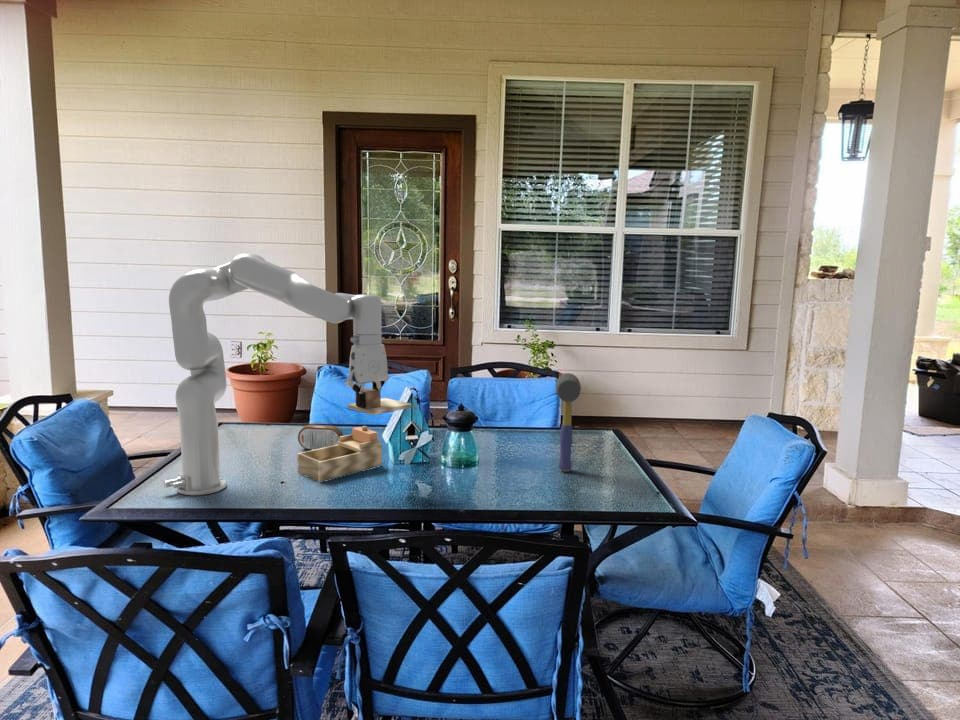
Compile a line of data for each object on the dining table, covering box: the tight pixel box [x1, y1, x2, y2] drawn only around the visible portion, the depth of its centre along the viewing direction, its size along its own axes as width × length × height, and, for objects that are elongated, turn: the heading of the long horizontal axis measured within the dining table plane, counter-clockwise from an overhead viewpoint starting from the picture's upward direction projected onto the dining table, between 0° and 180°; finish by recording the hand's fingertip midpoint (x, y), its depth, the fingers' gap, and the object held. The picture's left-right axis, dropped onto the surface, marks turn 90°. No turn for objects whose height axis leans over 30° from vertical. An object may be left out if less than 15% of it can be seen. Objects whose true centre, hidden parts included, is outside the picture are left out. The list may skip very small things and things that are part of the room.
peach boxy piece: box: [351, 425, 379, 443], centre depth 204 cm, size 3×9×5 cm, turn 46°
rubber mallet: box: [555, 372, 582, 472], centre depth 200 cm, size 12×8×30 cm, turn 173°
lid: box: [346, 387, 412, 416], centre depth 183 cm, size 14×12×6 cm
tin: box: [297, 424, 344, 450], centre depth 219 cm, size 15×3×8 cm, turn 84°
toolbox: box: [296, 433, 383, 483], centre depth 198 cm, size 22×12×8 cm, turn 136°
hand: (368, 405), depth 181 cm, fingers closed on lid, 4 cm apart
